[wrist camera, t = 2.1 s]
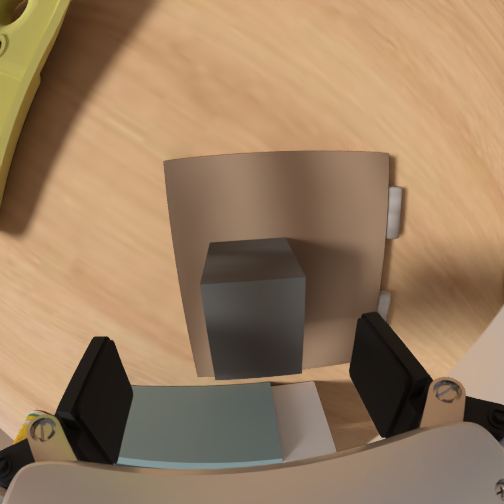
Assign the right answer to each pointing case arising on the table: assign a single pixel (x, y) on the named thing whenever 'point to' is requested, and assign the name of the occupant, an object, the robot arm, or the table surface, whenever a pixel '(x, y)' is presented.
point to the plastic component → (23, 66)
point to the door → (279, 255)
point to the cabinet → (224, 426)
